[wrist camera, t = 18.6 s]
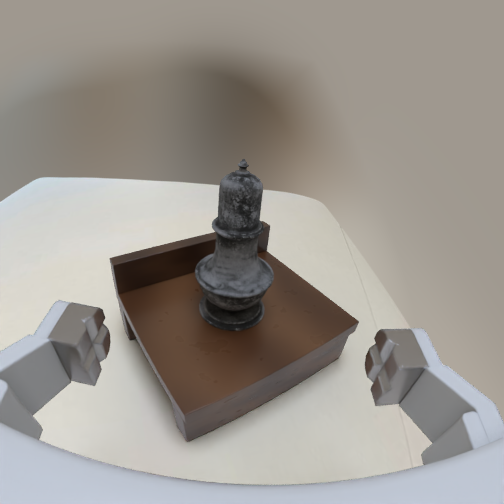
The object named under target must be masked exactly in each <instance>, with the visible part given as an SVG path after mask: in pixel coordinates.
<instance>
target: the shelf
mask: <svg viewBox="0 0 504 504" xmlns="http://www.w3.org/2000/svg"><path fill="white" fill-rule="evenodd" d="M262 223H263V225H264V231H263V233H262V234H260V235H259V237H258V246H257V256H258V257H259V258H261V259H263V260H264V261H265V262H267V263H268V265H269V266H270V267H271V268H272V270H273V273H274V280H273V282H272V284H271V286H270V287H269V288H268V289H267V291H266V293H265V295H264V296H263V298H262V299H261V301H262V302H263V304H264V308H265V309H264V316H263V318H262V320H261V321H260V322H259V323H258V324H257V325H255V326H253V327H251V328H249V329H245V330H241V331H228V330H222V329H219V328H216V327H214V326H212V325H210V324H209V323H207V322H206V321H205V320H204V319H203V318H202V316H201V314H200V310H199V304H200V301H201V299H202V298H203V296H204V293H203V291H202V289H201V288H200V284H199V283H198V281H197V279H196V277H195V268H196V266H197V264H198V263H199V262H200V261H201V260H202V259H203V258H205V257H206V256H208V255H211V254H213V253H214V252H215V247H216V232H214V233H210V234H205V235H201V236H197V237H193V238H189V239H185V240H180V241H176V242H172V243H168V244H164V245H160V246H156V247H152V248H148V249H144V250H140V251H136V252H132V253H128V254H124V255H120V256H116V257H113V258H110V264H111V269H112V275H113V280H114V285H115V290H116V295H117V299H118V302H119V306H120V311H121V315H122V320H123V324H124V328H125V331H126V333H127V335H128V338H129V340H132V339H135V338H137V340H138V342H139V344H140V346H141V348H142V350H143V352H144V354H145V355H146V357H147V359H148V361H149V363H150V365H151V367H152V368H153V370H154V372H155V374H156V376H157V377H158V379H159V381H160V383H161V384H162V386H163V388H164V389H165V391H166V393H167V394H168V396H169V398H170V399H171V401H172V405H173V409H174V414H175V419H176V423H177V427H178V429H179V430H180V432H181V433H182V435H183V436H184V438H185V440H186V441H187V442H188V441H190V440H193V439H195V438H197V437H199V436H201V435H203V434H206V433H208V432H210V431H212V430H214V429H216V428H218V427H220V426H222V425H224V424H226V423H228V422H230V421H232V420H234V419H236V418H238V417H240V416H242V415H244V414H246V413H248V412H249V411H251V410H253V409H255V408H257V407H259V406H260V405H262V404H264V403H266V402H268V401H269V400H271V399H273V398H275V397H276V396H278V395H280V394H282V393H283V392H285V391H287V390H288V389H290V388H292V387H293V386H295V385H297V384H298V383H300V382H302V381H303V380H305V379H306V378H308V377H310V376H311V375H313V374H314V373H316V372H317V371H319V370H320V369H322V368H324V367H325V366H327V365H328V364H330V363H331V362H333V361H334V360H336V359H337V358H339V357H340V355H341V352H342V350H343V348H344V345H345V343H346V341H347V338H348V336H349V335H350V334H352V333H353V332H355V330H356V327H357V325H358V323H359V321H357V320H356V319H355V318H354V317H352V316H351V315H350V314H348V313H347V312H346V311H344V310H343V309H342V308H341V307H339V306H338V305H337V304H335V303H334V302H333V301H331V300H330V299H329V298H327V297H326V296H325V295H324V294H322V293H321V292H320V291H318V290H317V289H316V288H314V287H313V286H312V285H310V284H309V283H308V282H307V281H305V280H304V279H303V278H301V277H300V276H299V275H297V274H296V273H295V272H293V271H292V270H291V269H289V268H288V267H287V266H286V265H284V264H283V263H282V262H280V261H279V260H278V259H276V258H275V257H274V256H272V255H271V254H270V253H268V252H267V246H268V238H269V231H270V225H268V224H267V223H265V222H264V221H262Z"/></svg>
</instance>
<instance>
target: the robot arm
mask: <svg viewBox="0 0 504 504" xmlns="http://www.w3.org/2000/svg"><path fill="white" fill-rule="evenodd" d="M104 319H105V316H104V313H103V310H102V309H100V308H98V307H92V306H87V305H82V304H77V303H71V302H66V301H61V300H58V301H56V302H55V303H54V304H53V306H52V307H51V309H50V310H49V312H48V313H47V315H46V316H45V318H44V319H43V321H42V322H41V324H40V325H39V327H38V328H37V330H36V331H35V333H34V335H28V336H26V337H24V338H22V339H21V340H19V341H17V342H16V343H14V344H12V345H11V346H9V347H7V348H5V349H4V350H2V351H0V504H504V423H503V420H502V418H501V416H500V413H499V411H498V409H497V407H496V405H495V403H494V402H492V401H491V400H490V399H489V398H487V397H486V396H485V395H484V394H482V393H481V392H480V391H479V390H477V389H476V388H475V387H474V386H472V385H471V384H470V383H468V382H467V381H466V380H465V379H463V378H462V377H461V376H460V375H458V374H457V373H456V372H454V371H453V370H452V369H451V368H449V367H448V366H447V365H445V366H443V365H442V363H441V361H440V358H439V356H438V354H437V353H436V350H435V348H434V346H433V345H432V343H431V341H430V339H429V337H428V335H427V333H426V331H425V330H424V329H423V328H413V329H381V330H379V331H378V332H377V334H376V336H375V338H374V339H375V342H376V344H375V345H373V346H372V347H371V348H369V351H368V353H367V355H366V360H365V370H366V374H367V377H368V378H369V379H370V380H371V381H372V382H373V385H372V387H371V392H372V395H373V399H374V402H375V406H380V405H393V404H399V406H400V407H401V408H402V409H403V411H404V412H405V413H406V414H407V415H408V416H409V417H410V418H411V419H412V421H413V422H414V423H415V424H416V425H417V426H418V427H419V428H420V429H421V431H422V432H423V433H424V434H425V435H426V436H427V437H428V438H429V440H430V441H431V442H432V444H431V445H430V446H429V447H428V448H427V449H425V450H424V451H423V453H422V454H421V456H422V460H423V464H424V465H422V466H418V467H414V468H410V469H406V470H402V471H397V472H392V473H387V474H382V475H377V476H371V477H365V478H358V479H351V480H343V481H334V482H324V483H311V484H292V485H247V484H228V483H215V482H205V481H196V480H188V479H181V478H174V477H168V476H162V475H156V474H151V473H146V472H141V471H137V470H132V469H128V468H124V467H120V466H116V465H112V464H108V463H105V462H101V461H98V460H94V459H91V458H88V457H84V456H81V455H78V454H75V453H72V452H69V451H67V450H64V449H61V448H58V447H56V446H53V445H50V444H48V443H45V442H43V441H41V440H39V439H40V436H41V433H42V427H41V425H40V424H39V423H38V422H37V421H36V419H35V418H34V417H33V415H34V414H35V413H36V412H37V411H38V410H40V409H41V408H42V407H43V406H44V405H45V404H46V403H48V402H49V401H50V400H51V399H52V398H53V397H55V396H56V395H57V394H58V393H59V392H60V391H61V390H63V389H64V388H65V387H66V386H67V385H68V384H70V383H71V381H75V382H79V383H83V384H88V385H92V386H95V384H96V382H97V379H98V377H99V374H100V372H101V370H102V369H101V366H100V362H101V361H103V360H104V359H106V357H107V355H108V352H109V348H110V333H109V330H108V328H107V327H106V326H105V325H104V324H103V321H104Z"/></svg>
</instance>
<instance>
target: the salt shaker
mask: <svg viewBox="0 0 504 504" xmlns="http://www.w3.org/2000/svg"><path fill="white" fill-rule="evenodd" d="M238 166H239V167H240V169H239V170H237V171H235V172H232V173H230V174H228V175H226V176H225V177H224V178H223V179H222V180H221V183H220V188H219V206H218V217H217V218H216V219H215V220H213V222H212V228H213V229H214V231H215V232H216V247H215V252H214V253H213V254H211V255H208V256H206V257H205V258H203V259H202V260H201V261H200V262H199V263H198V264H197V266H196V268H195V277H196V279H197V281H198V283H199V284H200V288H201V289H202V291H203V293H204V296H203V298H202V299H201V301H200V304H199V310H200V314H201V316H202V318H203V319H204V320H205V321H206V322H207V323H209V324H210V325H212V326H214V327H216V328H219V329H222V330H228V331H241V330H245V329H249V328H251V327H253V326H255V325H257V324H258V323H259V322H260V321H261V320H262V318H263V316H264V309H265V308H264V304H263V302H262V301H261V299H262V298H263V296H264V295H265V293H266V291H267V289H268V288H269V287H270V286H271V284H272V282H273V280H274V273H273V270H272V268H271V267H270V266H269V265H268V263H267V262H265V261H264V260H263V259H261V258H259V257H258V256H257V246H258V237H259V235H260V234H262V233H263V231H264V225H263V223H262V222H261V221H260V220H259V219H260V210H261V201H262V192H263V185H262V183H261V181H260V179H259V178H257V177H256V176H255V175H253V174H251V173H250V172H249V171H247V170H246V168H247V167H248V166H249V165H247V162H246V161H245V159H243V160H242V161H241V162H240V164H238Z"/></svg>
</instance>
